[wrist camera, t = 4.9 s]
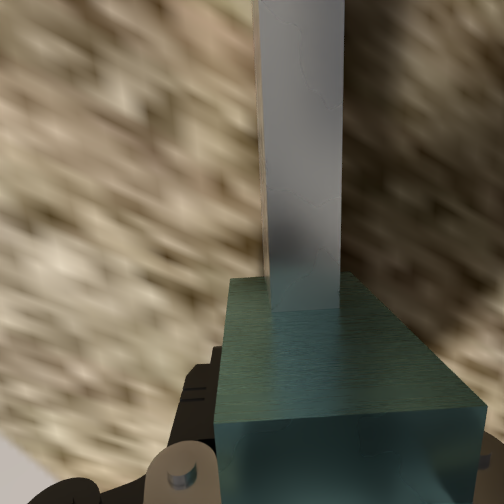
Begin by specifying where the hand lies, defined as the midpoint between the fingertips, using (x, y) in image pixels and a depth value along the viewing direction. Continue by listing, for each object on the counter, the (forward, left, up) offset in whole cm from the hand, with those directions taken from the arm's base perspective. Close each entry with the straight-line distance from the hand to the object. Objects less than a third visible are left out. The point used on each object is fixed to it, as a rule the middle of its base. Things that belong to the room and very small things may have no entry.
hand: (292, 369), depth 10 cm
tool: (-5, 0, 0) cm, 5 cm away
